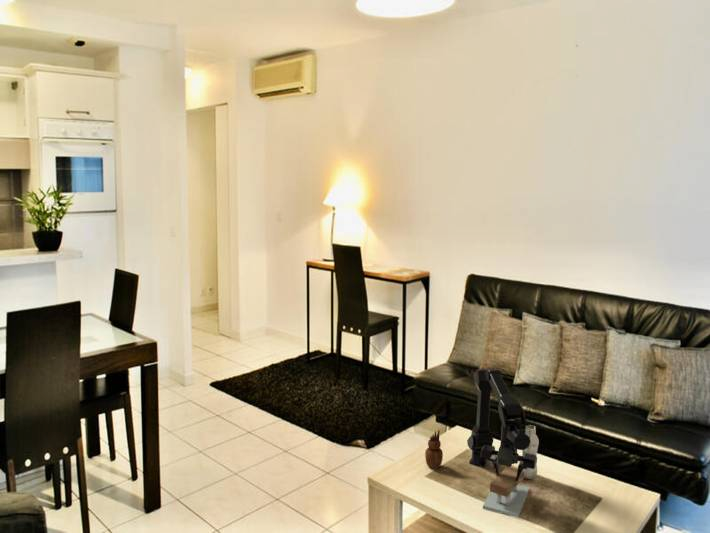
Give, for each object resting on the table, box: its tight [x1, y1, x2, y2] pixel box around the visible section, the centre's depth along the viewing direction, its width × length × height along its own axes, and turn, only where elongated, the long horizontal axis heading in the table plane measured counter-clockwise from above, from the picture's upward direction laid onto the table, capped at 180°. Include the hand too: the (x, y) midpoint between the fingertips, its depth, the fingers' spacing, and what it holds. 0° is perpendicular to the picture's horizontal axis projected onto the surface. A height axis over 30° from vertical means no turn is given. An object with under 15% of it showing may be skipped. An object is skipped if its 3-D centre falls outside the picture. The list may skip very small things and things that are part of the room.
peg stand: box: [482, 484, 530, 518], centre depth 202 cm, size 20×12×5 cm, turn 153°
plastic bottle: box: [521, 424, 540, 480], centre depth 217 cm, size 6×7×20 cm
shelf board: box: [489, 466, 525, 497], centre depth 202 cm, size 16×6×3 cm, turn 143°
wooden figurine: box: [425, 429, 444, 469], centre depth 225 cm, size 7×6×15 cm
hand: (507, 479), depth 202 cm, fingers closed on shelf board, 6 cm apart
